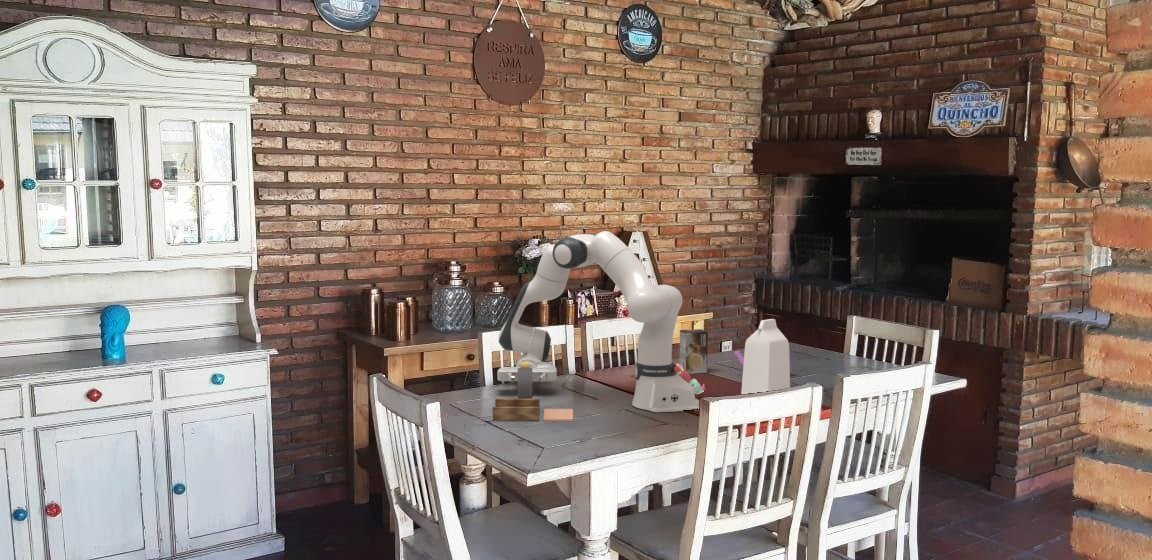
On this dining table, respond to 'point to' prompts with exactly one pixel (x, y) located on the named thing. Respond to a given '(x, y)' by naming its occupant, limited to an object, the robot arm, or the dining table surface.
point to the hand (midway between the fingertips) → (526, 379)
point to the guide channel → (516, 409)
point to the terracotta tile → (558, 414)
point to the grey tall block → (525, 381)
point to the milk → (766, 360)
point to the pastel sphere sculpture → (690, 381)
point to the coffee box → (693, 350)
